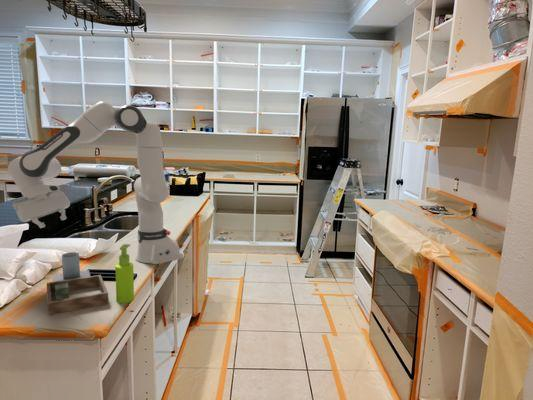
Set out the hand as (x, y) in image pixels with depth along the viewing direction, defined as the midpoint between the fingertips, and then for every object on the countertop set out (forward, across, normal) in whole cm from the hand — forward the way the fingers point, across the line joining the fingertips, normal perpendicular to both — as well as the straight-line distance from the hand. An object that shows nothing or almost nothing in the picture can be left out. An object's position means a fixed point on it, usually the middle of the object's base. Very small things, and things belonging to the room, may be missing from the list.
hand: (54, 223), depth 148 cm
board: (+24, -6, -1) cm, 25 cm away
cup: (+23, -6, -2) cm, 24 cm away
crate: (+32, -16, -15) cm, 38 cm away
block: (+28, -17, -10) cm, 35 cm away
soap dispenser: (+41, -7, -26) cm, 49 cm away
